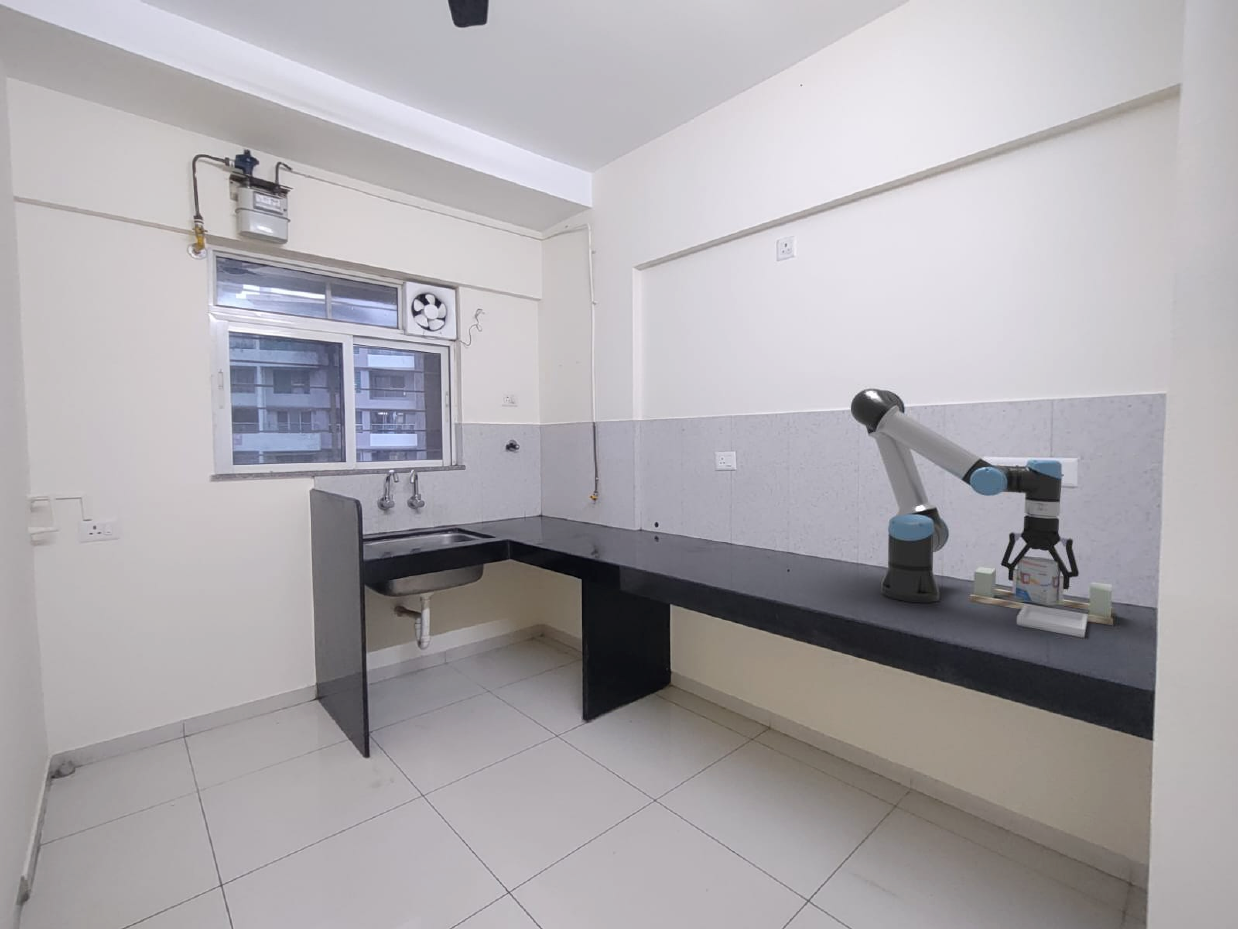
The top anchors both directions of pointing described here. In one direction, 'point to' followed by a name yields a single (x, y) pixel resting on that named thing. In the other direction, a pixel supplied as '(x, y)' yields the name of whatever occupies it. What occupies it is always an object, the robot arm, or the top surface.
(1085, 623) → the tray
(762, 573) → the top surface
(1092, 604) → the block
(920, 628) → the top surface
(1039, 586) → the ink box
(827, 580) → the top surface
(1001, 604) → the rail rack
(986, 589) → the block
